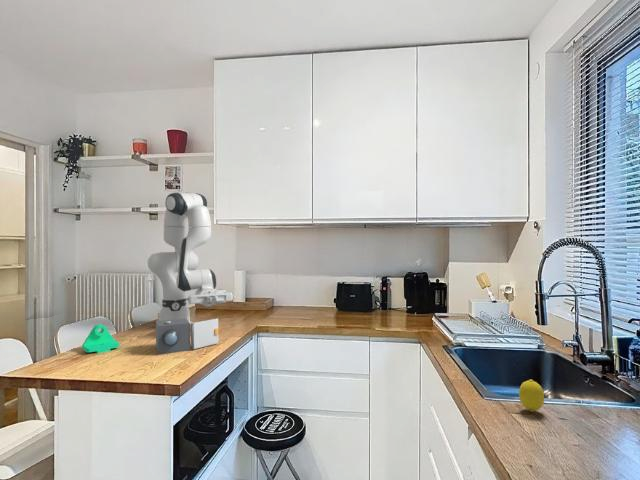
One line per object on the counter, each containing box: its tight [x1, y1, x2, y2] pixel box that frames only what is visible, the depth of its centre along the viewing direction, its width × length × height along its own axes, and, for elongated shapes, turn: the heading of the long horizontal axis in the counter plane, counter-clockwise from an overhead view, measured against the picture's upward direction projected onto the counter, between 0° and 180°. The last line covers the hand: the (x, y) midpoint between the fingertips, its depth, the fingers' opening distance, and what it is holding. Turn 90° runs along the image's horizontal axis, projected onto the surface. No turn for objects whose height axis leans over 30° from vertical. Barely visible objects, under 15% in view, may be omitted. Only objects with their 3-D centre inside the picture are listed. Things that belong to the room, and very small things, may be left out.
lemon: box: [518, 379, 545, 413], centre depth 99 cm, size 6×6×8 cm
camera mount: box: [81, 323, 120, 354], centre depth 162 cm, size 12×8×10 cm, turn 134°
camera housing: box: [155, 318, 191, 355], centre depth 162 cm, size 14×12×12 cm
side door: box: [190, 318, 220, 350], centre depth 165 cm, size 13×2×10 cm, turn 141°
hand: (213, 299), depth 180 cm, fingers closed
